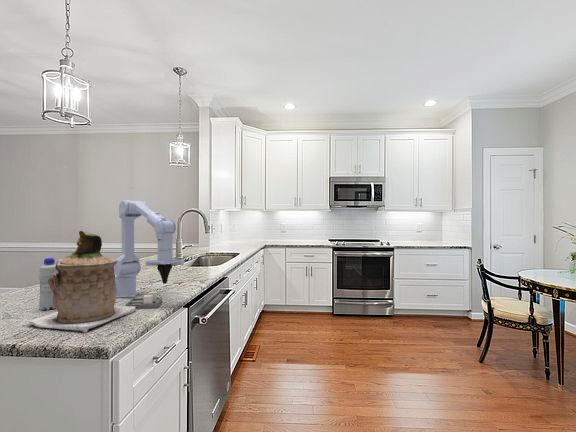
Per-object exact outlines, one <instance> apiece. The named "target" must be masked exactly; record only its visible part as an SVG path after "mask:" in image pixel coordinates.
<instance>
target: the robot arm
mask: <svg viewBox="0 0 576 432" xmlns="http://www.w3.org/2000/svg"><path fill="white" fill-rule="evenodd" d="M141 216H143V217H144V218H146V222H147V223H148V224H149V225H150V226H151V227H153V229H154V232H155V237H156V240H157V259H154V260H153V259H152V260H145V267H150V266H151V267H153V266H154V267H155V266H157V267H156V270H158V272H159V275H160V278H161V281H162V284H167V283H168V279H169V275H170V272H171V270H172V268H173V266H184V265H185V260H184V259H173V248H174V247H173V241H174V240H173V236H174V235H173V234H174V233H176V228H177V226H176V223H175V221H174V220H172V219H170V220H169V219H167V218H166V217H165V216H163V215H161V214H160V212H159V211H152V209H150V207H148V203H147V202H146V201H144V200H143V199H142V200H128V199H122V200H121V201H120V203H119V204H118V217H119V218H120V220H121V255H120V256H119V257H117V258H115V260H117V263H116V265H115V266H114V273H115V278H116V280H115V283H116V289H117V294H116V299H117V298H118V299H119V298H133V297H136V296H138V294H140V293H139V292H140V291H137V276H139V274H140V273H141V269H142V268H141V266H142V265H141V262H140V258H139V257H138V256H136V255H135V220H136V219H139V218H140V217H141Z"/></svg>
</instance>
